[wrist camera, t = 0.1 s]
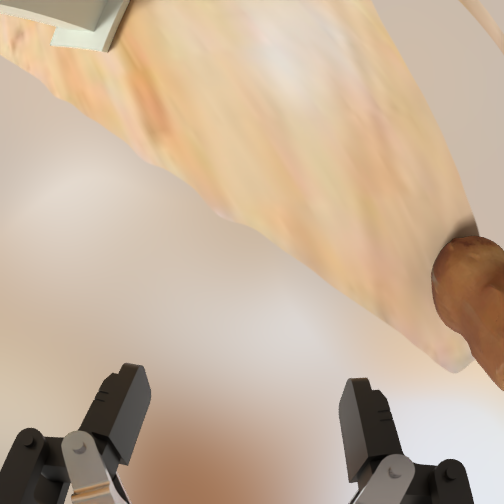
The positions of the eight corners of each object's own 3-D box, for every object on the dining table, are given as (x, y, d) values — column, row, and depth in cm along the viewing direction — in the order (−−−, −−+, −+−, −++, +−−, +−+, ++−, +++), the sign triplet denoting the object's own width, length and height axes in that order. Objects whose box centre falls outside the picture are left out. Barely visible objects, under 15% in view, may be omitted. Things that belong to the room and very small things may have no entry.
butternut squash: (495, 256, 39) (588, 347, 16) (444, 314, 43) (513, 428, 21) (455, 203, 36) (580, 293, 13) (397, 272, 41) (479, 407, 18)
